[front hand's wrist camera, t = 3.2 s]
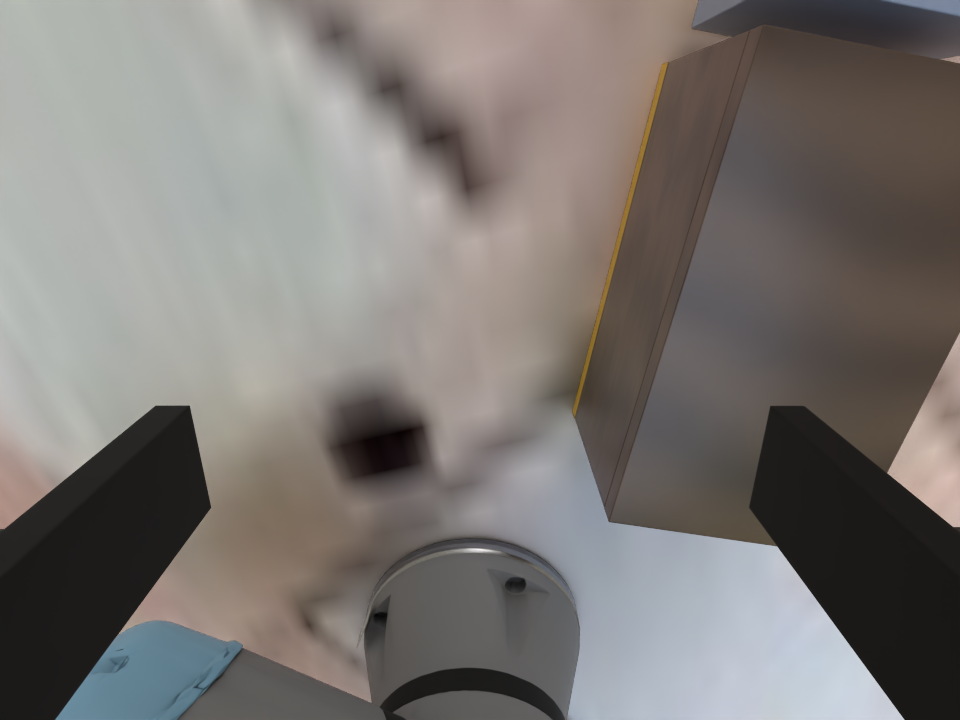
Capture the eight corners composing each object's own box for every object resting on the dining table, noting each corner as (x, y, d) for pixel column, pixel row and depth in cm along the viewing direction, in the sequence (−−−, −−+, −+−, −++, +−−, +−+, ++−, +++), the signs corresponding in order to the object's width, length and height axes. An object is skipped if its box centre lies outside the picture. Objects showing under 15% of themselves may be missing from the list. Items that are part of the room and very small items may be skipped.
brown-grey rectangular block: (662, 64, 27) (764, 23, 18) (874, 105, 28) (1087, 88, 18) (572, 411, 35) (608, 522, 25) (742, 438, 35) (844, 556, 25)
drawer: (736, -142, 24) (867, -286, 16) (952, -95, 24) (1186, -210, 16) (600, 360, 32) (640, 434, 24) (763, 386, 33) (854, 467, 25)
